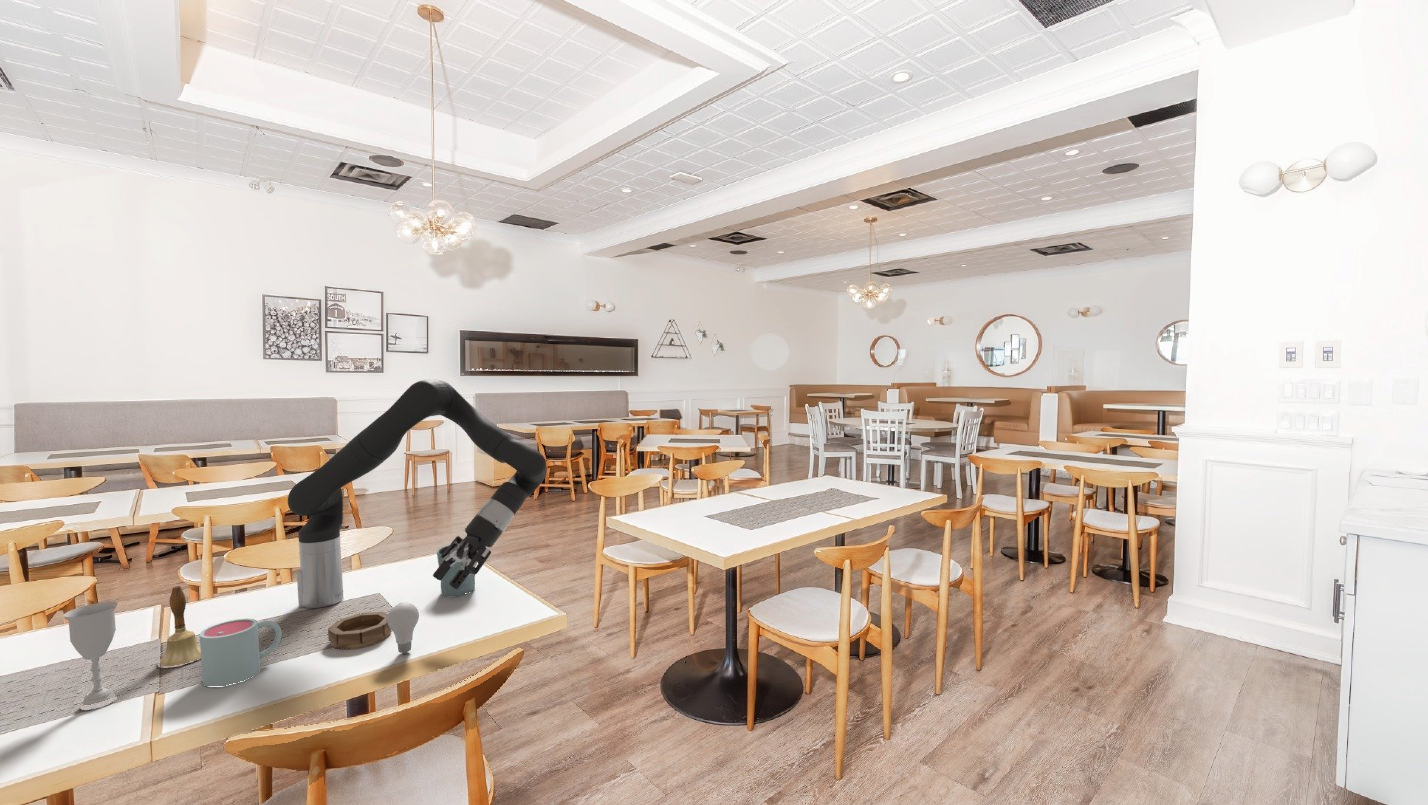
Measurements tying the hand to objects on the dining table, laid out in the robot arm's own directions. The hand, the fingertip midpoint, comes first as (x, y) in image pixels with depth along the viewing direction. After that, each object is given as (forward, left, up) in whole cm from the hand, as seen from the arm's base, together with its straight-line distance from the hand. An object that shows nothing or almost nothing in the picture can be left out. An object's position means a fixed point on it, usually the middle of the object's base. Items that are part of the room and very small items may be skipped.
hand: (444, 582), depth 139 cm
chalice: (-57, -18, -13) cm, 61 cm away
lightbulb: (-7, -6, -13) cm, 16 cm away
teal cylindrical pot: (-6, +31, -13) cm, 34 cm away
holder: (-20, +4, -13) cm, 24 cm away
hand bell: (-54, -1, -13) cm, 56 cm away
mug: (-37, -9, -13) cm, 40 cm away
